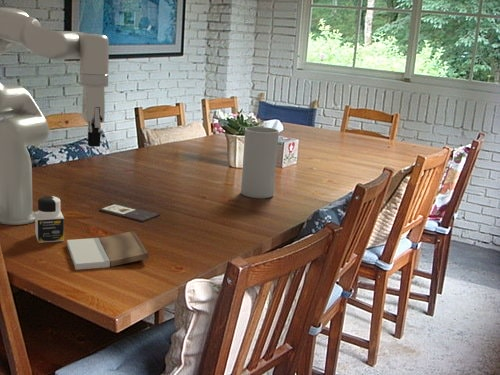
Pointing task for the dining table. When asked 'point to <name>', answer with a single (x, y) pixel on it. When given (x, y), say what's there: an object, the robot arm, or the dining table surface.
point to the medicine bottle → (49, 220)
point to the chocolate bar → (129, 212)
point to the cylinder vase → (259, 162)
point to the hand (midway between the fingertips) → (94, 145)
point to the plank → (123, 248)
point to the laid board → (88, 253)
